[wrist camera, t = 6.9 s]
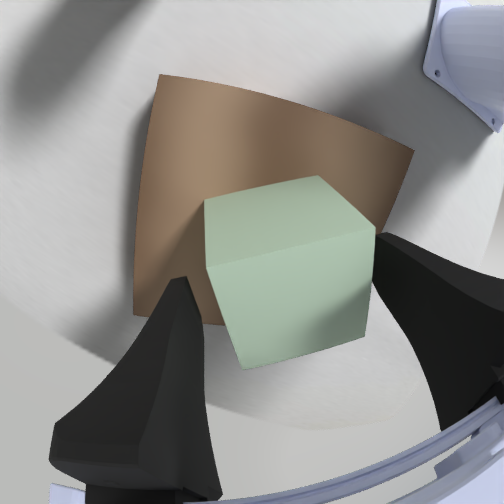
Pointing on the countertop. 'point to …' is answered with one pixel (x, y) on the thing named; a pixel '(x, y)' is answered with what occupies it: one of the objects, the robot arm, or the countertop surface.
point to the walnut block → (241, 173)
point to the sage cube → (289, 268)
